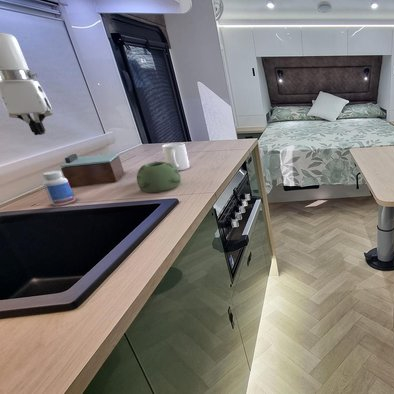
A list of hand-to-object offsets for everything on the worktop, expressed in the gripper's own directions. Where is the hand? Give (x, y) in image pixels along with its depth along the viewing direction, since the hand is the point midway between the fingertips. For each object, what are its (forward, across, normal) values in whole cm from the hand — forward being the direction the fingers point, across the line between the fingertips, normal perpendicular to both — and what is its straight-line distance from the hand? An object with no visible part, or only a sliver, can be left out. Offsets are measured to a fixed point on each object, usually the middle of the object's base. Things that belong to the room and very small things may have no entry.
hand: (40, 134), depth 100 cm
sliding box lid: (+11, -11, 0) cm, 16 cm away
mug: (+19, -38, -1) cm, 43 cm away
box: (+18, -11, 0) cm, 22 cm away
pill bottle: (+18, -8, +23) cm, 31 cm away
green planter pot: (+19, -34, +20) cm, 44 cm away
